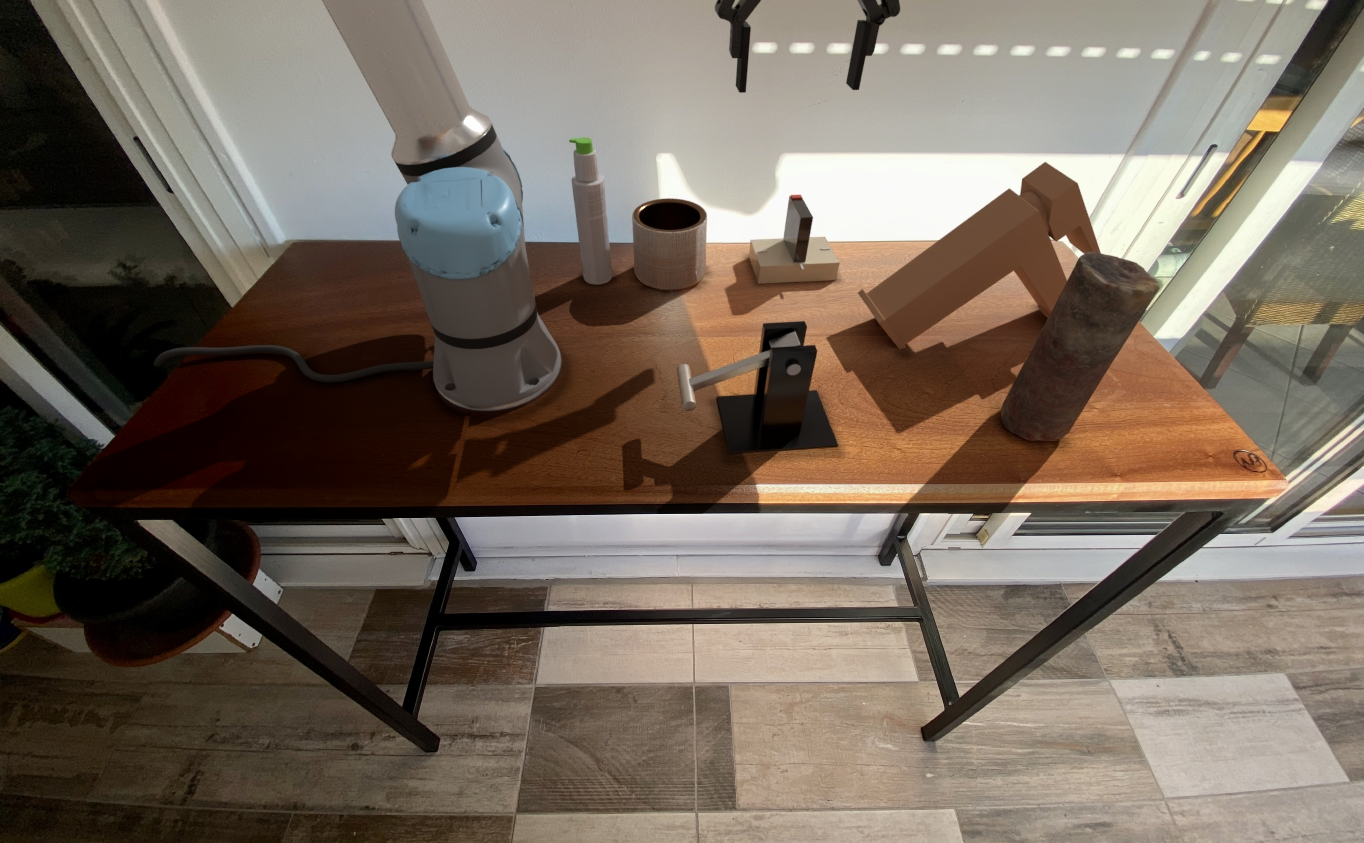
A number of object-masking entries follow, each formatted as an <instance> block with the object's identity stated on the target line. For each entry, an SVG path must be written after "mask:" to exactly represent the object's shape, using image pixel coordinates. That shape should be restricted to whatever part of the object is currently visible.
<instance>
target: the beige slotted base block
mask: <svg viewBox="0 0 1364 843" xmlns="http://www.w3.org/2000/svg"><path fill="white" fill-rule="evenodd" d="M783 238H784V237H783ZM783 238H782V237H781V238H762V239H761V238H757V239H750V240H749V250H748V258H749V261H750V265H751V267H752V270H753V273H754V276H755V278H756V281H757V283H758V284H759V285H760V284H777V283H778V284H784V283H785V284H786V283H804V282H823V281H837V277H838V272H839V267H840V261H839V258H838V257H837V255H836V253H835V251H834V250H833V249H832V246H831V244H830V243H829V241H828V239H827V237H826V236H810V238H809V244H808V250H807V255H806V261H805V262H793V260H792V258H791V255H790V253H789V251H788V249H787V247H786V244H785V242H784V240H783Z"/></svg>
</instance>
